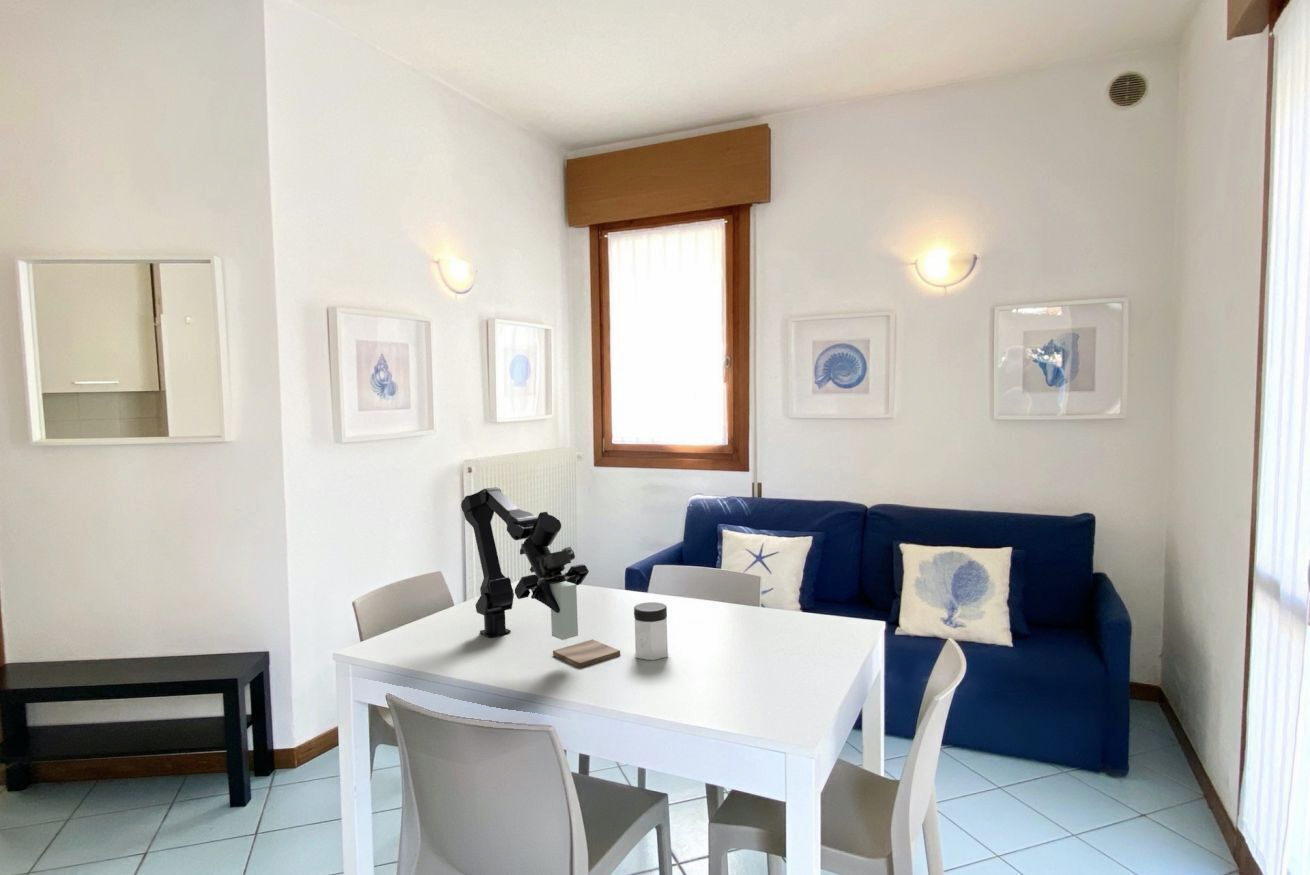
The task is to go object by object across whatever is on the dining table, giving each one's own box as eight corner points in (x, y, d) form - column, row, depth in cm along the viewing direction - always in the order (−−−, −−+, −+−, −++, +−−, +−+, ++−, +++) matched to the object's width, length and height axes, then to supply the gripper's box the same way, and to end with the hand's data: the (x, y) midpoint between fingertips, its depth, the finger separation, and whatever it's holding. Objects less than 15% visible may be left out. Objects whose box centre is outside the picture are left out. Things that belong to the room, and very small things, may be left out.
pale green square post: (551, 635, 169) (550, 584, 169) (567, 631, 172) (565, 581, 172) (562, 640, 166) (560, 587, 165) (578, 635, 169) (576, 584, 168)
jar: (627, 657, 173) (626, 608, 172) (644, 646, 180) (643, 600, 179) (659, 662, 168) (657, 613, 168) (675, 651, 175) (673, 604, 175)
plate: (553, 655, 175) (552, 650, 175) (592, 643, 183) (592, 639, 183) (580, 668, 166) (579, 663, 166) (620, 655, 174) (620, 650, 174)
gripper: (519, 543, 165) (546, 598, 157) (583, 532, 177) (612, 582, 170) (503, 571, 171) (529, 625, 163) (566, 558, 183) (593, 608, 176)
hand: (567, 609), depth 168 cm, fingers closed on pale green square post, 4 cm apart
